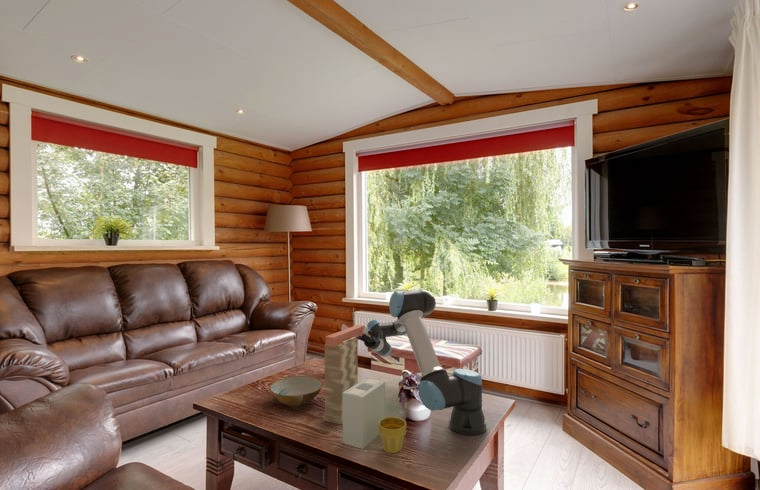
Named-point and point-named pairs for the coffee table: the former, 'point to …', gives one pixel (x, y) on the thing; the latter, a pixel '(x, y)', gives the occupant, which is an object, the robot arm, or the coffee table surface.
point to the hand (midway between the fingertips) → (353, 328)
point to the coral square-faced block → (344, 335)
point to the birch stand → (339, 377)
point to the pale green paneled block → (363, 412)
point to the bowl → (296, 390)
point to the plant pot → (392, 433)
